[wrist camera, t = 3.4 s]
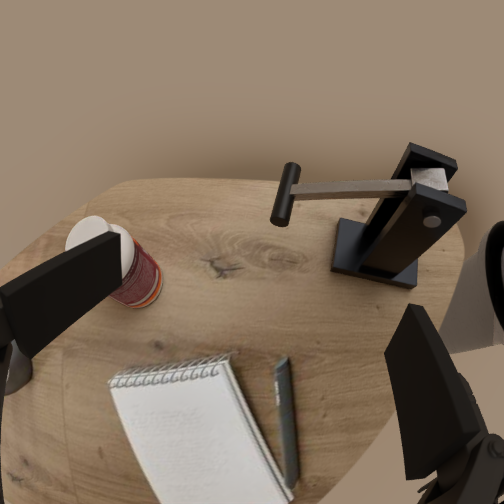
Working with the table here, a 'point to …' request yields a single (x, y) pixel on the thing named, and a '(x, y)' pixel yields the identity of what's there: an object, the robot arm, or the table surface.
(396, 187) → the lever
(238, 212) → the table surface
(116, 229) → the pill bottle
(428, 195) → the bracket
